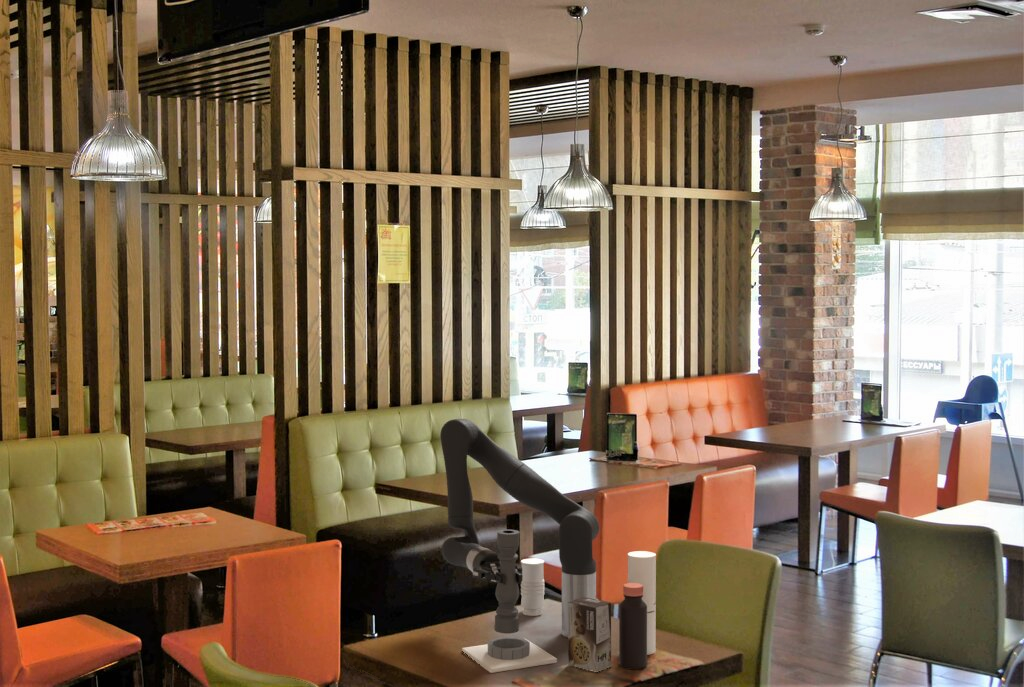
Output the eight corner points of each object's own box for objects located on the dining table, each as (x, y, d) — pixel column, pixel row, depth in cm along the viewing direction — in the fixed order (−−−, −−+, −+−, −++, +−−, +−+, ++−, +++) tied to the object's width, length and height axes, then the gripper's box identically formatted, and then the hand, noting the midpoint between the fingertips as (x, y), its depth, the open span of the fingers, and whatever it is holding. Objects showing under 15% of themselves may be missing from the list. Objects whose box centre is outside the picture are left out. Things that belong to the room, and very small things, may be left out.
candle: (549, 612, 326) (549, 560, 325) (533, 617, 321) (533, 565, 320) (532, 608, 331) (532, 557, 330) (515, 613, 326) (515, 561, 325)
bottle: (629, 671, 275) (629, 590, 274) (613, 663, 281) (614, 583, 280) (652, 667, 278) (652, 586, 277) (636, 659, 284) (637, 580, 283)
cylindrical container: (659, 648, 293) (659, 552, 292) (650, 656, 286) (650, 558, 285) (632, 644, 296) (633, 550, 295) (623, 652, 289) (623, 555, 288)
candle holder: (516, 634, 282) (518, 535, 281) (492, 632, 284) (493, 533, 282) (521, 626, 289) (522, 530, 287) (497, 625, 290) (499, 528, 288)
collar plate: (525, 642, 298) (525, 629, 298) (556, 662, 282) (556, 648, 282) (462, 651, 290) (462, 638, 290) (490, 672, 274) (490, 658, 274)
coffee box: (612, 667, 278) (612, 602, 278) (596, 673, 273) (596, 607, 273) (583, 659, 284) (583, 595, 284) (567, 665, 280) (567, 601, 279)
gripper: (460, 551, 295) (486, 567, 279) (509, 547, 301) (538, 562, 285) (459, 580, 295) (486, 597, 280) (509, 575, 301) (537, 591, 286)
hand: (512, 579), depth 283 cm, fingers closed on candle holder, 3 cm apart
